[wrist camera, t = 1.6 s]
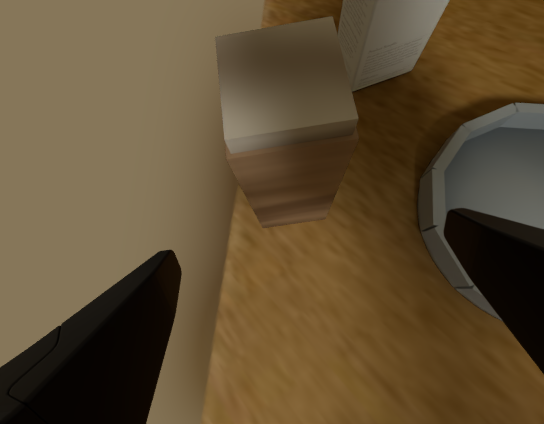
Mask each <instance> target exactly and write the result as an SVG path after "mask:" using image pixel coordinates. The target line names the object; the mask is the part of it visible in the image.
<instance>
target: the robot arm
mask: <svg viewBox="0 0 544 424" xmlns="http://www.w3.org/2000/svg"><path fill="white" fill-rule="evenodd" d="M444 237H445V239H446V241H447V243H448V244H449V246H450V248H451V249H452V251H453V252H454V254H455V256H456V257H457V259H458V261H459V262H460V264H461V265H462V267H463V269H464V270H465V272H466V273H467V275H468V276H469V278H470V279H471V281H472V282H473V283H474V285H475V286H476V287H477V289H478V290H479V291H480V292H481V294H482V295H483V296H484V298H485V299H486V300H487V301H488V303H489V304H490V305H491V307H492V308H493V309H494V311H495V312H496V313H497V314H498V316H499V317H500V318H501V320H502V321H503V322H504V323H505V325H506V326H507V327H508V329H509V330H510V331H511V332H512V334H513V335H514V336H515V338H516V339H517V340H518V342H519V343H520V344H521V345H522V347H523V348H524V349H525V351H526V352H527V353H528V354H529V356H530V357H531V358H532V360H533V361H534V362H535V364H536V365H537V366H538V367H539V369H540V370H541V371H542V373H543V374H544V229H541V228H537V227H534V226H530V225H526V224H523V223H519V222H515V221H511V220H508V219H504V218H500V217H497V216H493V215H489V214H485V213H482V212H478V211H474V210H470V209H467V208H456V209H450V210H449V211H448V212H447V215H446V220H445V226H444ZM180 281H181V268H180V265H179V263H178V260H177V258H176V255H175V253H174V252H173V251H172V250H165V251H160V252H158V253H157V254H155V255H154V256H152V257H151V258H150V259H148V260H147V261H146V262H144V263H143V264H142V265H140V266H139V267H138V268H136V269H135V270H134V271H132V272H131V273H130V274H128V275H127V276H125V277H124V278H123V279H122V280H120V281H119V282H117V283H116V284H115V285H113V286H112V287H111V288H109V289H108V290H107V291H105V292H104V293H102V294H101V295H100V296H98V297H97V298H96V299H94V300H93V301H92V302H90V303H89V304H88V305H86V306H85V307H84V308H82V309H81V310H80V311H78V312H77V313H76V314H74V315H73V316H71V317H70V318H69V319H67V320H66V321H65V322H63V323H62V325H61V326H58V327H56V328H55V329H54V330H52V331H51V332H50V333H49V334H47V335H46V336H44V337H43V338H42V339H40V340H39V341H37V342H36V343H35V344H33V345H32V346H31V347H29V348H28V349H27V350H25V351H24V352H22V353H21V354H19V355H18V356H16V357H15V358H13V359H12V360H10V361H9V362H8V363H6V364H5V365H3V366H2V367H0V424H146V422H147V418H148V414H149V410H150V407H151V403H152V400H153V396H154V392H155V389H156V384H157V381H158V378H159V374H160V370H161V366H162V363H163V359H164V355H165V351H166V348H167V344H168V341H169V337H170V333H171V330H172V326H173V322H174V318H175V313H176V308H177V301H178V293H179V288H180Z"/></svg>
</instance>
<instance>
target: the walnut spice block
mask: <svg viewBox="0 0 544 424" xmlns="http://www.w3.org/2000/svg"><path fill="white" fill-rule="evenodd" d="M215 40H216V50H217V63H218V74H219V85H220V96H221V107H222V119H223V130H224V140H225V151H226V160H227V162H228V163H229V165H230V167H231V169H232V171H233V173H234V175H235V177H236V179H237V181H238V182H239V184H240V186H241V188H242V190H243V192H244V194H245V196H246V197H247V199H248V201H249V203H250V205H251V207H252V209H253V211H254V212H255V214H256V216H257V218H258V220H259V222H260V224H261V226H262V227H263V228H267V227H274V226H281V225H288V224H295V223H302V222H309V221H315V220H322V219H325V218H326V216H327V214H328V211H329V209H330V207H331V204H332V202H333V199H334V197H335V195H336V192H337V190H338V188H339V185H340V183H341V181H342V178H343V176H344V173H345V171H346V169H347V166H348V164H349V162H350V159H351V157H352V154H353V152H354V150H355V147H356V145H357V143H358V140H359V136H358V132H357V128H356V124H357V122H358V119H359V118H358V114H357V110H356V106H355V102H354V98H353V94H352V90H351V86H350V83H349V79H348V75H347V71H346V67H345V63H344V59H343V55H342V51H341V47H340V43H339V39H338V35H337V31H336V27H335V23H334V19H333V16H330V17H324V18H319V19H313V20H307V21H302V22H296V23H291V24H285V25H279V26H274V27H268V28H262V29H257V30H251V31H246V32H240V33H234V34H229V35H223V36H217V37H215Z"/></svg>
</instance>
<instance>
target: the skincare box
mask: <svg viewBox="0 0 544 424" xmlns="http://www.w3.org/2000/svg"><path fill="white" fill-rule="evenodd" d="M448 2H449V0H343V4H342V10H341V16H340V22H339V29H338V39H339V43H340V47H341V51H342V55H343V59H344V63H345V67H346V71H347V75H348V79H349V83H350V86H351V90H352V92H353V91H356V90H358V89H361V88H364V87H367V86H370V85H372V84H375V83H378V82H381V81H384V80H387V79H390V78H392V77H395V76H398V75H401V74H404V73H407V72H409V71H411V70H412V69H413V68H414V66H415V64H416V62H417V60H418V58H419V56H420V54H421V53H422V51H423V49H424V47H425V45H426V43H427V41H428V40H429V38H430V36H431V34H432V32H433V30H434V28H435V26H436V25H437V23H438V21H439V19H440V17H441V15H442V13H443V11H444V9H445V8H446V6H447V4H448Z"/></svg>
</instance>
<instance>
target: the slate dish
mask: <svg viewBox="0 0 544 424" xmlns="http://www.w3.org/2000/svg"><path fill="white" fill-rule="evenodd" d="M456 208H467V209H470V210H474V211H478V212H482V213H485V214H489V215H493V216H497V217H500V218H504V219H508V220H511V221H515V222H519V223H523V224H526V225H530V226H534V227H537V228H541V229H544V104H531V103H514V104H513V103H512V104H509V105H507V106H504V107H502V108H500V109H497V110H495V111H493V112H490V113H488V114H485V115H483V116H481V117H478V118H476V119H473V120H471V121H469V122H466V123H464V124H462V125H461V126H460V127H459V128H458V129H457V130H456V131H455V132H454V133H453V134H452V135H451V136H450V137H449V138H448V139H447V140H446V141H445V143H444V144H443V146H442V147H441V149H440V150H439V152H438V153H437V154H436V155H435V157H434V158H433V159H432V160H431V162H430V163H429V165H428V167H427V169H426V170H425V172H424V173H423V175H422V176H421V179H420V188H419V192H418V203H417V210H418V221H419V226H420V231H421V234H422V237H423V240H424V242H425V245H426V248H427V250H428V252H429V254H430V255H431V257H432V259H433V261H434V263H435V264H436V266H437V267H438V269H439V270H440V272H441V273H442V274H443V275H444V277H445V278H446V279H447V280H448V281H449V283H450V284H451V285H452V287H454V288H455V290H457V291H458V292H459V293H460V294H462V295H463V296H464V297H465V298H466V299H467V300H469V301H470V302H471V303H473V304H474V305H475V306H477V307H478V308H480V309H481V310H483V311H485V312H486V313H488V314H490V315H491V316H493V317H495V318H497V319H499V320H501V318H500V317H499V316H498V314H497V313H496V312H495V311H494V309H493V308H492V307H491V305H490V304H489V303H488V301H487V300H486V299H485V298H484V296H483V295H482V294H481V292H480V291H479V290H478V289H477V287H476V286H475V285H474V283H473V282H472V281H471V279H470V278H469V276H468V275H467V273H466V272H465V270H464V269H463V267H462V265H461V264H460V262H459V261H458V259H457V257H456V256H455V254H454V252H453V251H452V249H451V248H450V246H449V244H448V243H447V241H446V239H445V237H444V226H445V220H446V215H447V212H448V211H449V210H450V209H456ZM501 321H502V320H501Z"/></svg>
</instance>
